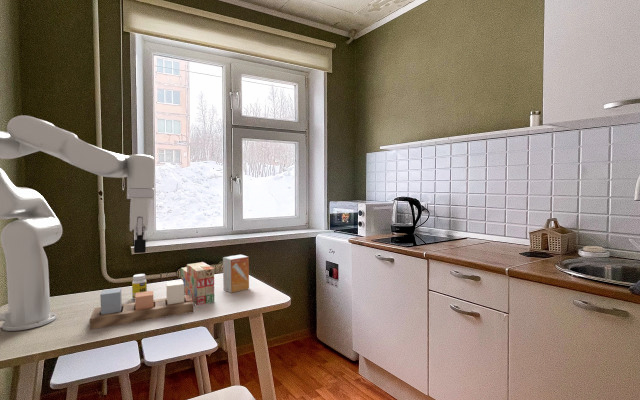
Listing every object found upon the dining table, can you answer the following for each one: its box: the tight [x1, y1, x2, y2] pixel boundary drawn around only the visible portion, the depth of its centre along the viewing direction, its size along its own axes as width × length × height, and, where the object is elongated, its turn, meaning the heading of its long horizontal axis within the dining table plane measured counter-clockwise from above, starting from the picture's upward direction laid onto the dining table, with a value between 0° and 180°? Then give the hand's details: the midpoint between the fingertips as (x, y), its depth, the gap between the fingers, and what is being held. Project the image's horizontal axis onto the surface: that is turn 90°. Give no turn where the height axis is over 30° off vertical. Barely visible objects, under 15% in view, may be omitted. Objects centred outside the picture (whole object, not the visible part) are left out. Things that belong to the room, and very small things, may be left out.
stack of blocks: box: [180, 261, 215, 306], centre depth 127 cm, size 21×6×12 cm, turn 36°
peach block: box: [134, 290, 154, 310], centre depth 108 cm, size 5×5×6 cm
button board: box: [89, 294, 194, 330], centre depth 108 cm, size 28×10×3 cm, turn 116°
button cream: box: [165, 279, 185, 305], centre depth 112 cm, size 5×5×6 cm
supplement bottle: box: [131, 273, 148, 300], centre depth 126 cm, size 5×5×8 cm
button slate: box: [99, 287, 123, 315], centre depth 104 cm, size 5×5×6 cm
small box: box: [222, 254, 250, 293], centre depth 134 cm, size 8×6×13 cm
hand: (139, 252), depth 107 cm, fingers closed
